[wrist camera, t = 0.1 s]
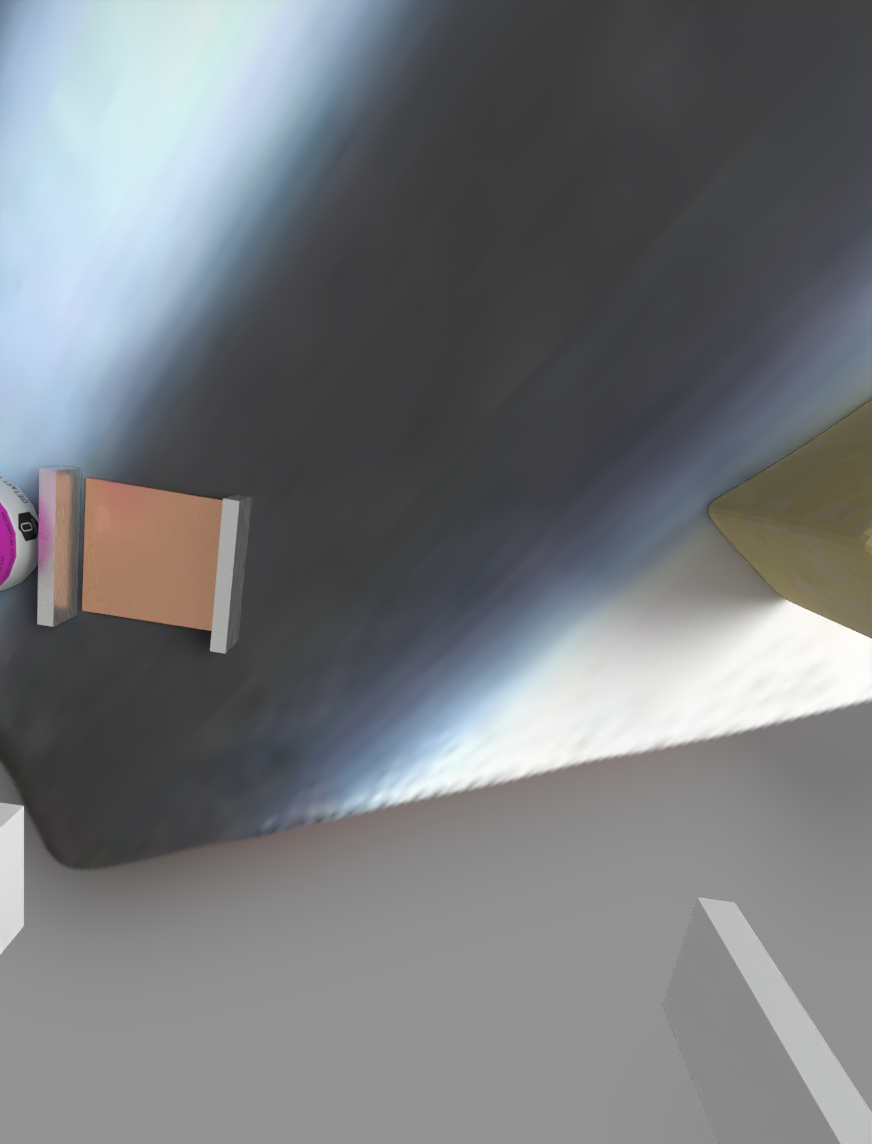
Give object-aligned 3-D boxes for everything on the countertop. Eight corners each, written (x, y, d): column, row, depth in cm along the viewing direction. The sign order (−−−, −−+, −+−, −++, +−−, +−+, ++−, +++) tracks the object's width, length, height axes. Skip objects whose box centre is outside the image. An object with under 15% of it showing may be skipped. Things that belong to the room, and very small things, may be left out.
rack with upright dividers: (-111, 436, 36) (-150, 435, 34) (252, 496, 37) (239, 501, 35) (-104, 586, 38) (-141, 596, 36) (238, 640, 39) (225, 653, 37)
